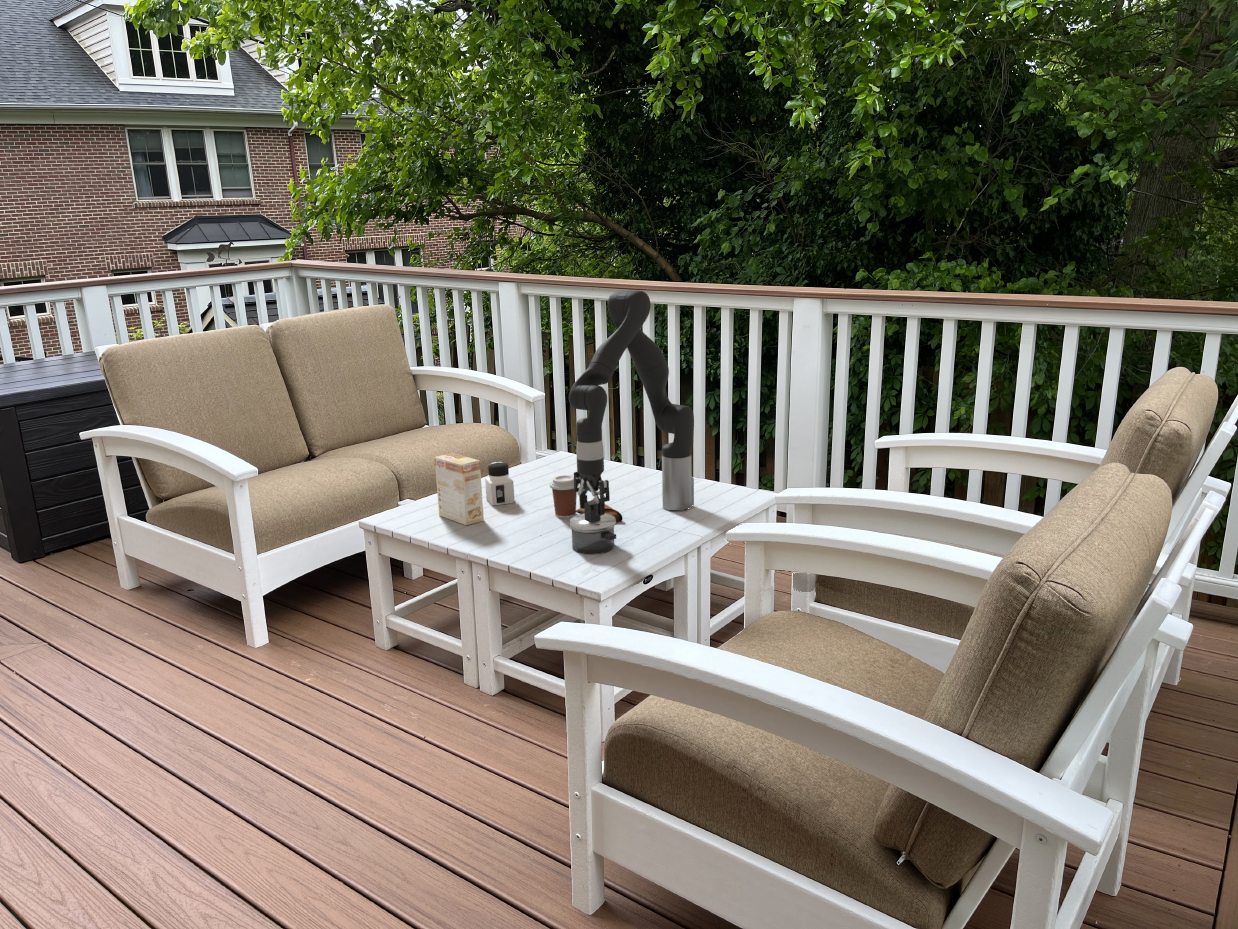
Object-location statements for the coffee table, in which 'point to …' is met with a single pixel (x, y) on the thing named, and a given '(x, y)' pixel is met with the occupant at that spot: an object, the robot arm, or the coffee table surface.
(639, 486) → the coffee table surface
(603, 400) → the robot arm
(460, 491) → the coffeecake box
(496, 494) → the container
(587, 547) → the pot
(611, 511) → the sunglasses case
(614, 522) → the lid
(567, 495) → the coffee cup
